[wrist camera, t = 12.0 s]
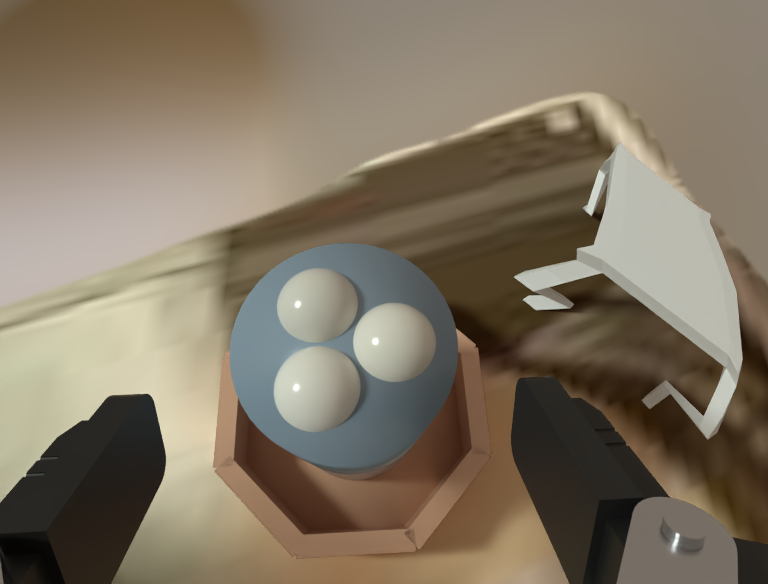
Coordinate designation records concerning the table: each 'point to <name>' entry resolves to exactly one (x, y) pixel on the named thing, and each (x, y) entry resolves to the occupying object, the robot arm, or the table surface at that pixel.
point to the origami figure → (658, 271)
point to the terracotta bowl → (349, 497)
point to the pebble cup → (344, 357)
